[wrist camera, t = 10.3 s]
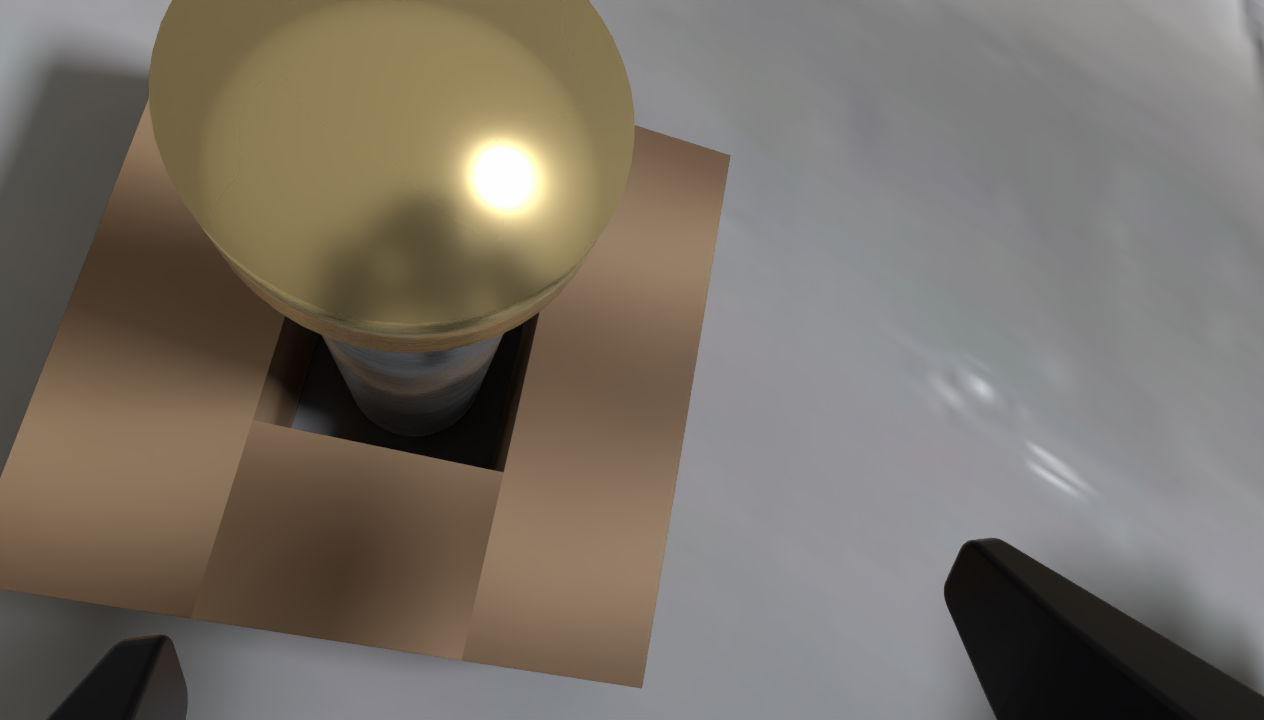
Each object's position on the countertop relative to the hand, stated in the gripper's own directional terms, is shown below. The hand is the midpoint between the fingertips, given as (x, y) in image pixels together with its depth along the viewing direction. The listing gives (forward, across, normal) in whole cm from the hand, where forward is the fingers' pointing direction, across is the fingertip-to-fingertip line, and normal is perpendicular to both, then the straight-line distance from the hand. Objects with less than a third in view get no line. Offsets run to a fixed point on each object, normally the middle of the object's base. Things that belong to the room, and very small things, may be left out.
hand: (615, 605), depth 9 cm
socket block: (+11, +2, +4) cm, 12 cm away
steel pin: (+11, +2, +4) cm, 12 cm away
